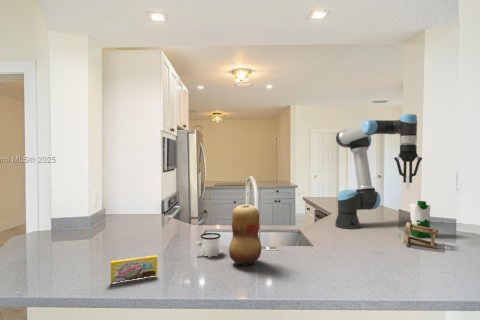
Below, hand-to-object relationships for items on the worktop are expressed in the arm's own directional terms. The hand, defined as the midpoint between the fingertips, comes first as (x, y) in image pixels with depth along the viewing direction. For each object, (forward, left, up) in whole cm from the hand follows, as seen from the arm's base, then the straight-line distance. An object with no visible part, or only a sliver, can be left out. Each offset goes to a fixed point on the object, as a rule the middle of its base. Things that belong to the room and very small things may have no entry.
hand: (407, 189), depth 148 cm
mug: (-76, -72, -28) cm, 108 cm away
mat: (+8, -3, -28) cm, 29 cm away
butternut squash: (-55, -72, -28) cm, 95 cm away
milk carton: (+5, +17, -28) cm, 33 cm away
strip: (+1, -3, -28) cm, 28 cm away
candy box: (-81, -108, -28) cm, 138 cm away
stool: (-1, -3, -22) cm, 22 cm away
